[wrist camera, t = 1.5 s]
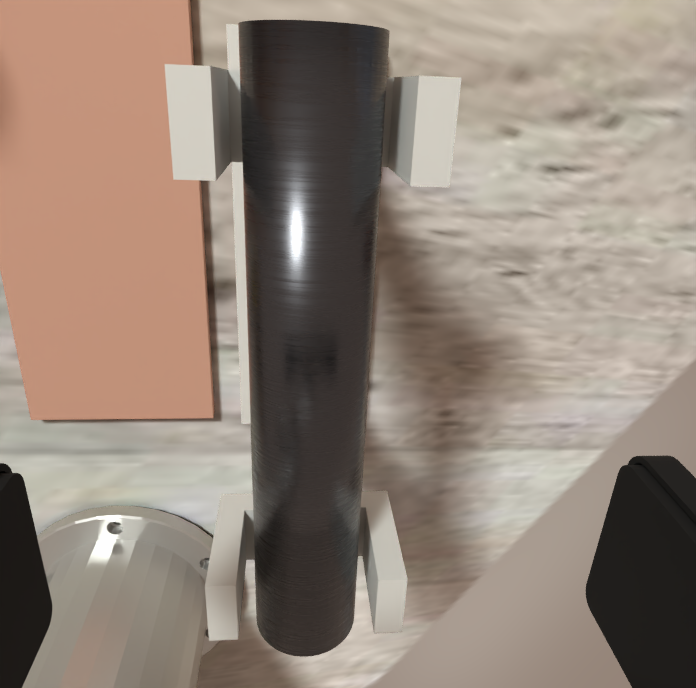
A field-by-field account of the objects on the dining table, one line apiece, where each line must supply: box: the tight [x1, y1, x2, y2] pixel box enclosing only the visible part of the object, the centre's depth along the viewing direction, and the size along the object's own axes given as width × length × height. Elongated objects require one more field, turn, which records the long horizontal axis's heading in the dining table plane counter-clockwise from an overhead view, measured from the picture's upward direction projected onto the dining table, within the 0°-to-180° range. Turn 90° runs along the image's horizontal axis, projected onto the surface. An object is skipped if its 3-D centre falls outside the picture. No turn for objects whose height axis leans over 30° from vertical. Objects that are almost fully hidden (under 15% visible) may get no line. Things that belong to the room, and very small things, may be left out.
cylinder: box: [238, 20, 389, 656], centre depth 15 cm, size 16×3×3 cm, turn 178°
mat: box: [0, 0, 215, 420], centre depth 26 cm, size 20×9×1 cm, turn 178°
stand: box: [165, 24, 461, 641], centre depth 21 cm, size 18×6×16 cm, turn 178°
